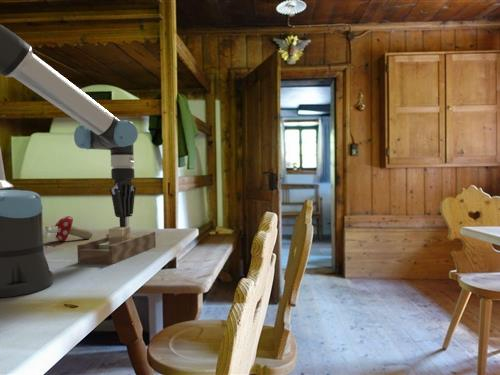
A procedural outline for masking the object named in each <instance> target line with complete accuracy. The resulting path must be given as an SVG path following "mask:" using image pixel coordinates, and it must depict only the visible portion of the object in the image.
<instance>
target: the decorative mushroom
mask: <svg viewBox="0 0 500 375" xmlns="http://www.w3.org/2000/svg"><path fill="white" fill-rule="evenodd" d="M73 222H74V219H73V216H70V215H69V216H68V215H67V216H64V217H62V218H60V219H59V220H58V221H57V222H56V224H55V225H54V227H55V226H58V232H57V235H56V236H55V238H56V239H57V240H58V241H59V242H60V243H64V242H66V240H67V239H68V236H69V235H70V236H75V237H78V238H80V239H83V240H89V239H91V238H92V236H93V232H92V230H91V229H88V228H83V227H77V226H73Z"/></svg>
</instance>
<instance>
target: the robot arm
mask: <svg viewBox="0 0 500 375" xmlns="http://www.w3.org/2000/svg"><path fill="white" fill-rule="evenodd" d="M0 74H1V75H2V76H3V77H5V78H14V79H15V80H17V81H18V82H19V83H20V84H21V83H22V84H23V85H24V86H26V87H27V88H28V89H30V90H32V91H33V92H34V93H36V94H38V95H39V96H40V97H42V98H43V99H44V100H46V101H47V102H49V103H50V104H52V105H53V106H54V107H56V108H58V109H59V110H61V112H62V111H63V113H65V114H66V115H68V116H69V117H71V118H72V119H74V120H75V121H76V122H78V123H79V124H78V125H77V127H76V128H75V129H74V133H73V137H74V138H73V139H74V140H73V141H74V144H75V145H76V147H78V148H79V149H83V150H84V149H85V150H88V151H89V150H104V151H105V150H106V151H107V150H108V151H110V167H111V169H110V172H111V173H110V174H111V175H110V176H111V179H112V180H114V182H113V187H112V188H109V193H110V195H111V200H112V205H113V211H114V216H115V217H116V218H118V219H119V227H130V217H133V214H134V205H135V195H136V191H137V187H135V186H133V182H132V180H133V179H135V169H134V168H133V167H134V166H135V158H134V157H135V156H134V155H135V154H134V144H135V143H136V142H137V139H138V137H139V131H138V128H137V126H136V125H135V124H134V123H133V122H132V121H129V120H124V119H121V120H120V119H119V118H117V117H116V116H115V115H114V114H112V113H111V112H109V110H107V109H106V108H105V107H103V106H102V105H101V104H100V103H98V102H97V101H96V100H94V99H93V98H92V97H90V96H89V95H88V94H86V93H85V92H84V91H83V90H81V89H80V88H79V87H77V86H76V85H75V84H73V83H72V82H71V81H69V80H68V79H67V78H66V77H64V76H63V75H62V74H60V73H59V72H58V71H56V70H55V69H54V68H53V67H52V66H50V65H49V64H48V63H46V62H45V61H44V60H43V59H41V58H40V57H39V56H37V55H36V54H34V52H33V48H32V46H31V45H30V44H29V43H27V42H26V41H25V40H23V39H22V38H21V37H20V36H18V35H17V34H16V33H14V32H13V31H11V30H10V29H9V28H8V27H5V26H4V25H2V24H0ZM2 154H3V153H2V148H1V147H0V298H9V297H11V298H12V297H17V296H23V295H27V294H31V293H36V292H38V291H42V290H44V289H47V288H49V287H50V286H52V285H53V283H54V275H53V272H52V270H50V267H49V264H48V260H47V258H46V255H45V252H44V250H45V248H44V228H43V227H44V226H43V225H44V224H43V221H44V220H43V209H44V208H43V205H42V203H43V202H42V197H41V196H40V194H39V193H37V192H35V191H32V190H21V189H20V190H19V189H15V188H14V185H13V184H12V183H10V182H9V181H7V180H6V175H5V169H4V162H3V155H2Z"/></svg>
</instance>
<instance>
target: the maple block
mask: <svg viewBox="0 0 500 375" xmlns="http://www.w3.org/2000/svg"><path fill="white" fill-rule="evenodd" d="M108 231H109V244H117V243H120V242H123V241H126V240H129V239H131V237H132V236H131V235H132V234H131V226H129V227H120V226H115V227H111V228H108Z"/></svg>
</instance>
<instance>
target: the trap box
mask: <svg viewBox="0 0 500 375" xmlns="http://www.w3.org/2000/svg"><path fill="white" fill-rule="evenodd" d="M76 247H77V263H78V264H95V265H98V264H99V265H114V264H117V263H119V262H122V261H124V260H126V259H130V258H132V257H135V256H136V255H139V254H141V253H144V252H147V251H149V250H151V249H154V248H156V247H157V245H156V231H152V232H149V233H146V234H142V235H139V236H137V237H132V238H131V239H129V240H126V241H123V242H120V243H117V244H109V237H101V238H98V239H95V240H92V241H87V242H84V243H80V244H77V246H76Z"/></svg>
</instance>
